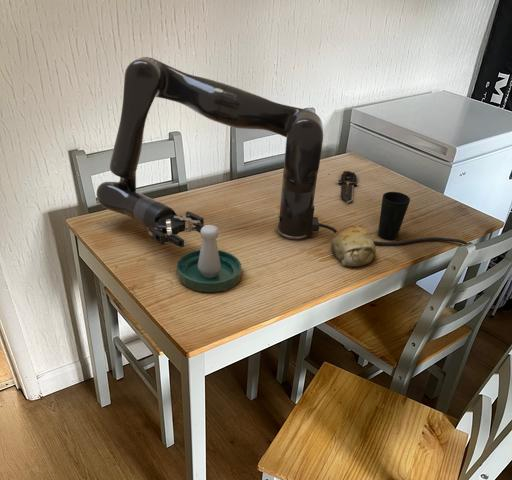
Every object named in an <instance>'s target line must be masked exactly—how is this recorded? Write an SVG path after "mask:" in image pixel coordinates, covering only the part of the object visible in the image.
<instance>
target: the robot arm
mask: <svg viewBox="0 0 512 480" xmlns="http://www.w3.org/2000/svg"><path fill="white" fill-rule="evenodd" d="M123 79H124V80H123V95H122V107H121V114H120V120H119V125H118V129H117V132H116V137H115V142H114V145H113V150H112V152H111V153H112V154H111V158H110V162H109V170H110V172H111V173H112V174H113V175H114V176H116V177H119V181H103V182H101V183H100V184H99V185H98V187H97V189H96V193H95V194H96V199H97V201H98V203H99V204H100V205H101V206H102V207H103V208H105V209H106V210H109V211H111V212H114V213H118V214H121V215H126V216H128V217H129V218H130V219H133V220H134V221H136V222H138V224H139V225H141V226H142V227H144V228H146V229H147V230H148V238H150V239H152V240H153V241H155V242H156V243H158V244H159V245H161V246H164V245H166V243H168V244H172V245H174V246H176V247H178V248H181V249H182V248H184V247H185V239H183V238H182V237H180V236H178V234H180V233H191V232H197V233H199V234H201V233H200V232H201V229H202V227H204V226H206V225H205V223H204V222H205V218H204V217H202V216H200V215H198V214H195V213H193V212H191V211H186V212H185V215H178V214H177V213H176V211H175V210H174V209H173V208H172V207H171V206H168V205H167V204H164V203H163V202H161V201H158V200H156V199H155V198H151V197H149V196H146V195H145V194H143V193H141V192H138V191H137V170H138V166H139V162H140V158H141V154H142V150H143V144H144V143H143V142H144V132H145V127H146V121H147V118H148V114H149V112H150V109H151V107H152V105H153V102H154V100H155V98H159V99H163V100H168V101H172V102H174V103H175V102H176V103H179V104H181V105H183V106H185V107H187V108H189V109H190V110H192V111H194V112H195V113H197V114H199V115H200V116H203V117H204V118H206V119H208V120H211V121H213V122H215V123H218V124H221V125H224V126H228V127H232V128H236V129H243V130H263V131H267V132H271V133H274V134H277V135H278V136H279V135H280V136H281V137H284V138H286V140H285V151H284V152H285V153H284V161H283V172H282V173H283V174H282V183H281V192H280V193H281V194H280V203H279V212H278V215H277V218H278V224H277V233H278V235H279V236H281V237H282V238H284V239H287V240H292V241H293V240H294V241H299V240H304V239H307V238H311V235H312V232H313V233H319V231H320V228H324V229H326V230H329V231H332V232H333V233H334V234H335V233H336V232H338V231H339V230H337V229H335V228H334V227H333V226H330V225H327V224H323V223H320V221H319V217H318V216H314V215H315V203H314V202H315V196H316V195H315V194H316V189H317V181H318V173H319V169H320V163H321V158H322V157H321V156H322V149H323V143H324V126H323V121H322V118H321V117H320V116H319V115H318V114H317V113H316V112H315V111H312V110H310V109H306V108H301V107H295V106H291V105H287V104H283V103H278V102H275V101H272V100H270V99H268V98H265V97H263V96H261V95H257V94H255V93H252V92H249V91H247V90H244V89H242V88H239V87H236V86H233V85H230V84H227V83H224V82H220V81H216V80H213V79H210V78H206V77H202V76H197V75H194V74H189V73H186V72H184V71H181V70H179V69H178V68H175V67H173V66H170V65H168V64H166V63H164V62H162V61H160V60H159V59H156V58H153V57H149V56H143V57H139V58H137V59H134V60H132V61H131V62H130V63H129V64H128V65H127V67H126V68H125V71H124V78H123ZM186 223H187V227H186ZM192 225H193V226H192ZM372 241H373V242H374V244H375V245H378V246H401V245H405V244H412V243H419V242H429V241H442V242H453V243H459V244H463V245H464V246H466V245H465V244H467V243H468V242H467V241H465V240H462V239H458V238H449V237H448V238H446V237H438V236H436V237H435V236H433V237H432V236H431V237H421V238H413V239H407V240H400V241H376V240H372Z"/></svg>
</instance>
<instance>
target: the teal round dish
mask: <svg viewBox="0 0 512 480" xmlns="http://www.w3.org/2000/svg"><path fill="white" fill-rule="evenodd" d="M200 250H201V249H196V250H193V251H190V252H186V253H185V254H183V255H181V257H179V259H178V261H177V263H176V276H177V278H178V280H179V282H180V283H181V284H182V285H183V286H185V287H186V288H189V289H191V290H193V291H198V292H201V293H217V292H222V291H226V290H228V289H231V288H233V287H234V286H236V285H237V284H238V283H239V282H240V280H241V278H242V263H241V260H239V258H238V257H236V255H234V254H232V253H230V252H228V251H225V250H220V249H218V253H219V258H220V264H221V268H220V270H219V272H218V274H217V276H216V277H213V278H205V277H203V275H202V274H201V272H200V271H199V269H198V261H199V255H200Z"/></svg>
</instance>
